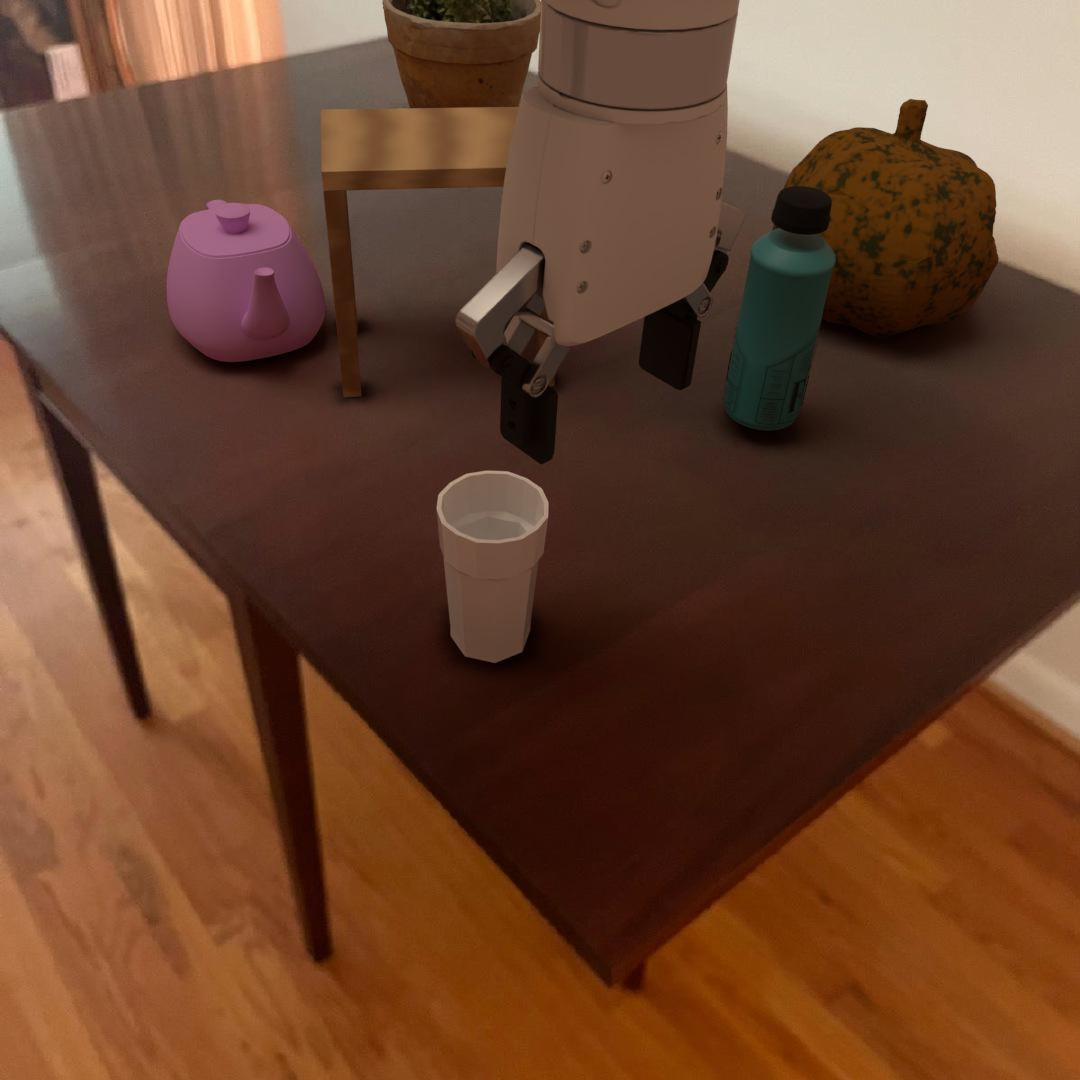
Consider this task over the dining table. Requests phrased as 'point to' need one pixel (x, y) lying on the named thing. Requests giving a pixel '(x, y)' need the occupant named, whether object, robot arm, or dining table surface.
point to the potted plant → (463, 50)
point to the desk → (401, 181)
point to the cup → (491, 559)
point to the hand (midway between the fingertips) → (598, 411)
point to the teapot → (242, 283)
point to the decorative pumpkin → (901, 225)
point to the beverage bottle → (781, 313)
